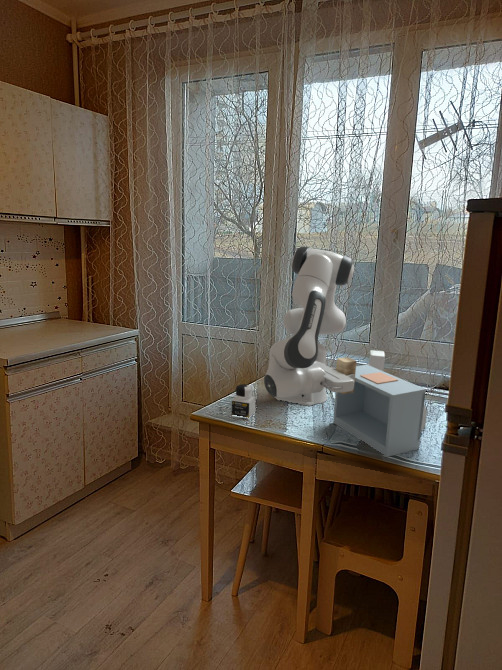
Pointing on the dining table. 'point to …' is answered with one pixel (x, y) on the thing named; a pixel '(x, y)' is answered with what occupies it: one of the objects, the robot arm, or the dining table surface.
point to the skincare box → (377, 359)
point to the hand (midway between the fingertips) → (347, 373)
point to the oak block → (346, 368)
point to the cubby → (382, 411)
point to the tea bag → (424, 418)
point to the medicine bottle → (243, 401)
